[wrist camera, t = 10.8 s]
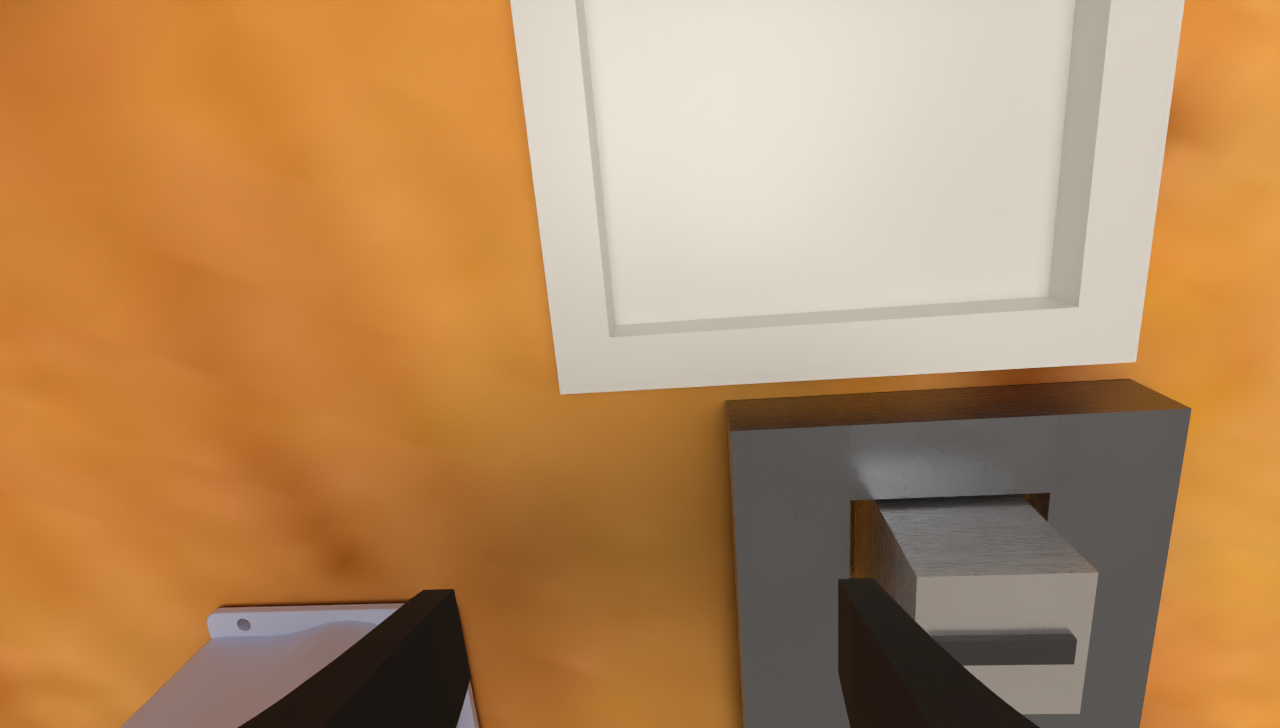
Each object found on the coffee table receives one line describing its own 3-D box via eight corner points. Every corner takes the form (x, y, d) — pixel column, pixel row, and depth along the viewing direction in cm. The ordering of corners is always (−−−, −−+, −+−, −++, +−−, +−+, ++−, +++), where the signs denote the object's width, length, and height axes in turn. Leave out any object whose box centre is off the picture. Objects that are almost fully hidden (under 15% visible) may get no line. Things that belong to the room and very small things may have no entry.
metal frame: (749, 866, 26) (755, 937, 24) (725, 400, 21) (730, 431, 18) (1064, 871, 25) (1103, 946, 23) (1129, 379, 19) (1191, 408, 17)
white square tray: (572, 373, 21) (560, 394, 19) (501, -217, 16) (476, -269, 14) (1092, 342, 19) (1135, 362, 17) (1167, -318, 15) (1236, -391, 13)
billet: (854, 572, 22) (913, 721, 16) (855, 465, 21) (919, 582, 15) (977, 569, 22) (1084, 720, 16) (985, 460, 20) (1104, 577, 15)
